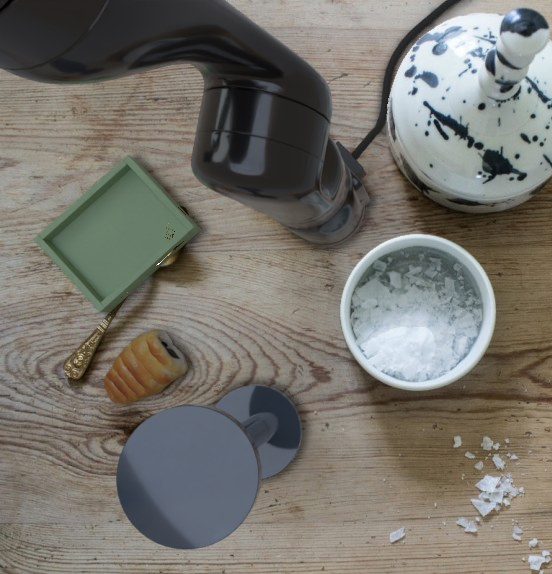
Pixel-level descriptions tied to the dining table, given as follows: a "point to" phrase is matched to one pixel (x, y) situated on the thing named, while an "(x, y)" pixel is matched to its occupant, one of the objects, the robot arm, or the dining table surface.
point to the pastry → (144, 368)
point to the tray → (116, 234)
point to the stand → (205, 465)
